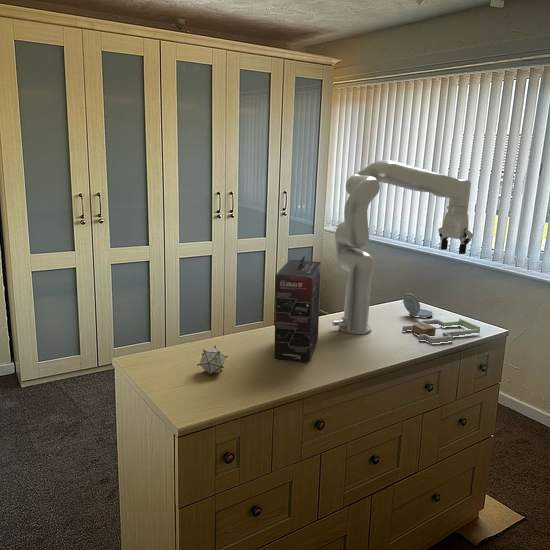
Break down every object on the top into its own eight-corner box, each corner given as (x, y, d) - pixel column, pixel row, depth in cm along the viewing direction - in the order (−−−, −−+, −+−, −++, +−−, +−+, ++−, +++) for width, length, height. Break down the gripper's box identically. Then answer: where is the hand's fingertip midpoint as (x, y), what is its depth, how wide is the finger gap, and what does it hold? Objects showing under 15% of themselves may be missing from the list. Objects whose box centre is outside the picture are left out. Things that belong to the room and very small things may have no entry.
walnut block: (421, 339, 196) (422, 329, 195) (412, 334, 202) (413, 324, 201) (434, 337, 198) (435, 328, 197) (425, 332, 204) (426, 323, 203)
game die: (211, 381, 161) (216, 350, 165) (229, 379, 156) (235, 347, 160) (189, 373, 156) (195, 342, 160) (207, 372, 150) (213, 339, 154)
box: (426, 345, 189) (427, 336, 188) (396, 328, 207) (396, 320, 206) (486, 339, 198) (488, 330, 198) (453, 323, 216) (454, 315, 216)
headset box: (309, 364, 168) (314, 265, 160) (271, 360, 170) (275, 262, 163) (318, 339, 191) (323, 252, 184) (285, 336, 194) (288, 250, 186)
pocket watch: (401, 290, 224) (426, 287, 232) (399, 314, 226) (423, 310, 234) (418, 296, 216) (443, 292, 223) (416, 321, 218) (440, 316, 226)
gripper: (435, 208, 213) (430, 248, 217) (468, 212, 199) (463, 255, 202) (447, 207, 217) (443, 247, 221) (481, 212, 202) (476, 254, 206)
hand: (452, 251), depth 211 cm, fingers open, 9 cm apart
